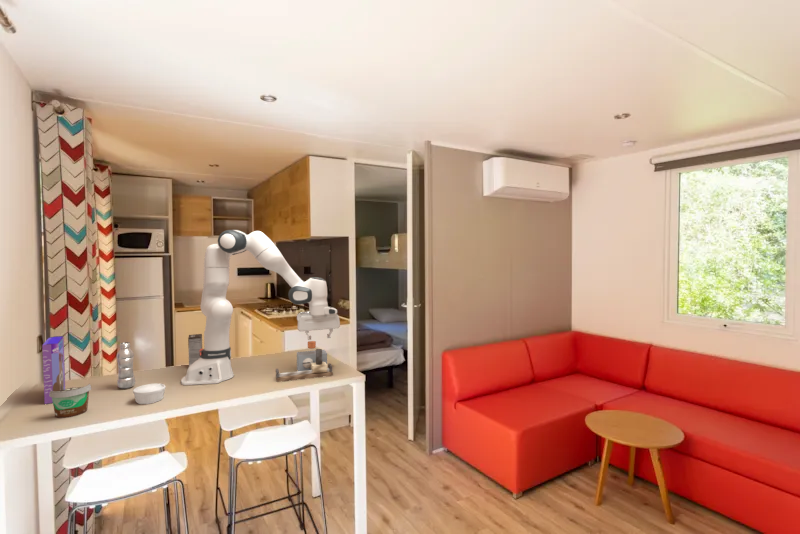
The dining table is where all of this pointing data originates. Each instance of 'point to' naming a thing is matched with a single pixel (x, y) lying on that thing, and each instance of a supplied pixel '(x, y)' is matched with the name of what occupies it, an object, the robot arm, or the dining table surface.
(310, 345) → the button
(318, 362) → the carriage
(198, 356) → the coffee box
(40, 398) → the dining table surface
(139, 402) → the ramekin
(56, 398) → the food container
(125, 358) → the plastic bottle
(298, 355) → the gauge cabinet
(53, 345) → the cereal box
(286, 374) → the rail
